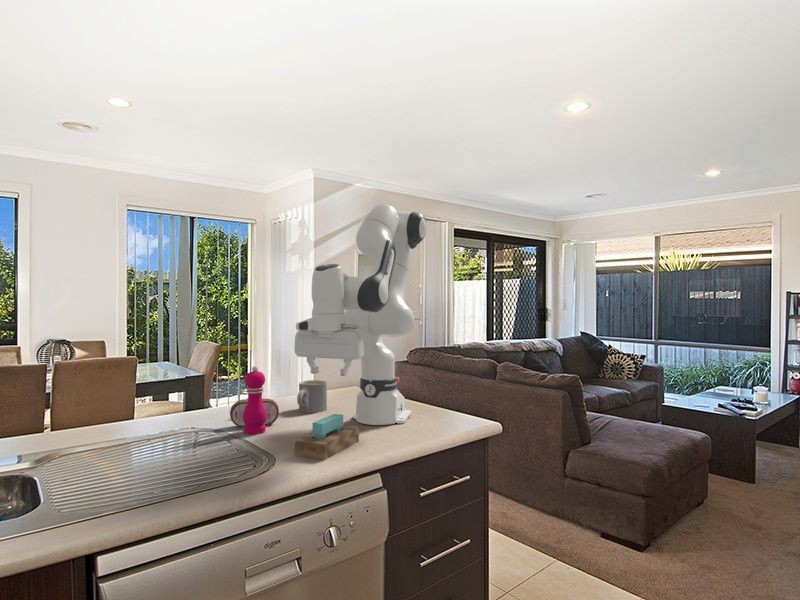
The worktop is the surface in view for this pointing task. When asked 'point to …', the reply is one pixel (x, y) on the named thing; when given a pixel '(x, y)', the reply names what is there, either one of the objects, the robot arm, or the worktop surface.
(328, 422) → the clip
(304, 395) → the coffee mug
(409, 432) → the worktop surface
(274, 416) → the tin
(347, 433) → the slotted wooden block
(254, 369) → the pepper mill
